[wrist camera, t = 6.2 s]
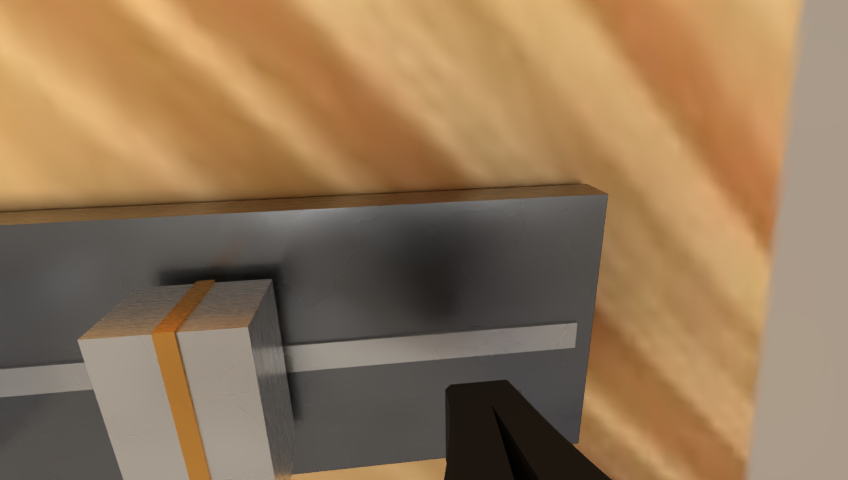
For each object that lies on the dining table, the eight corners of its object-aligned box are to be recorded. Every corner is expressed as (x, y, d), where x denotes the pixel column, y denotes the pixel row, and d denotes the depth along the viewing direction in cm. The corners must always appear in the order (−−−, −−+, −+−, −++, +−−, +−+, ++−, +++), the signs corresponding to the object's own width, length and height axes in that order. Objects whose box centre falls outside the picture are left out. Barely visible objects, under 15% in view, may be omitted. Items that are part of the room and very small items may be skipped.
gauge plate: (562, 416, 15) (727, 702, 8) (-169, 491, 13) (-804, 971, 6) (586, 183, 12) (863, 313, 5) (-333, 228, 10) (-1851, 542, 3)
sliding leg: (297, 445, 12) (282, 524, 10) (183, 457, 12) (141, 541, 10) (272, 276, 10) (246, 326, 8) (137, 284, 10) (74, 338, 8)
